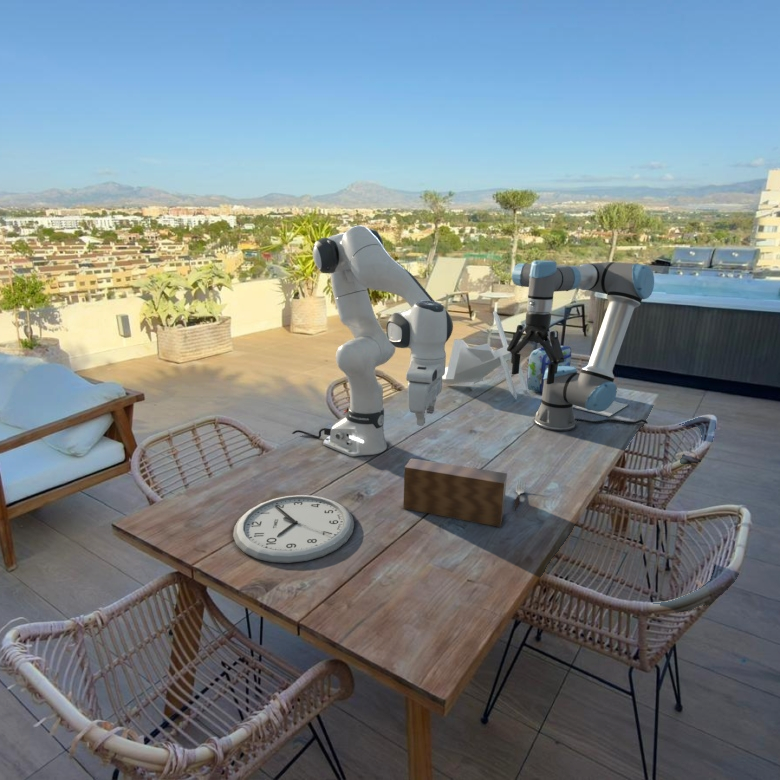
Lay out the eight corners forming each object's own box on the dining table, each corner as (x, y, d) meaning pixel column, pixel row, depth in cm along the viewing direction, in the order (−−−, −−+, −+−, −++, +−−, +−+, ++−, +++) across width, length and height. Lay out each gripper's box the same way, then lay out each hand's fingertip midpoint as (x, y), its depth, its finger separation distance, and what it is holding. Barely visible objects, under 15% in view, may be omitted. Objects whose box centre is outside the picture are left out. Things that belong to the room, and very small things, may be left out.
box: (503, 515, 139) (507, 473, 136) (500, 527, 134) (504, 483, 130) (409, 498, 147) (410, 458, 143) (403, 508, 142) (404, 467, 138)
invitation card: (608, 416, 214) (573, 407, 224) (608, 416, 214) (573, 408, 224) (628, 404, 229) (594, 396, 238) (628, 405, 229) (594, 397, 238)
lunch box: (543, 396, 238) (548, 352, 231) (522, 391, 245) (526, 347, 239) (570, 385, 255) (575, 343, 249) (550, 381, 262) (555, 340, 256)
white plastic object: (461, 429, 252) (437, 405, 227) (444, 352, 274) (420, 323, 250) (535, 404, 240) (518, 377, 215) (510, 326, 262) (492, 293, 237)
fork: (509, 511, 141) (510, 504, 140) (517, 485, 155) (517, 479, 155) (519, 513, 140) (520, 506, 139) (526, 487, 154) (526, 481, 154)
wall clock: (355, 554, 119) (220, 559, 116) (355, 560, 119) (221, 565, 117) (353, 490, 147) (244, 493, 145) (353, 495, 148) (245, 498, 145)
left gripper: (426, 356, 142) (424, 404, 146) (403, 375, 123) (402, 430, 127) (449, 358, 140) (446, 407, 144) (429, 378, 121) (427, 433, 125)
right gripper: (499, 308, 168) (494, 371, 174) (567, 319, 149) (558, 390, 156) (514, 306, 173) (509, 368, 179) (581, 316, 154) (573, 385, 160)
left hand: (425, 418), depth 135 cm, fingers open, 8 cm apart
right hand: (532, 378), depth 167 cm, fingers open, 13 cm apart
